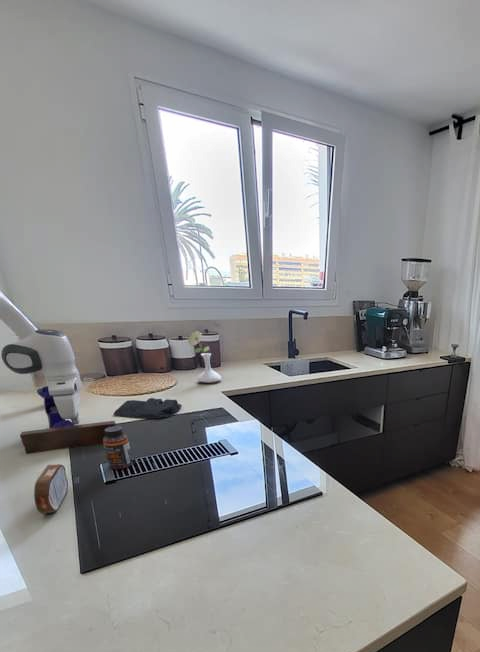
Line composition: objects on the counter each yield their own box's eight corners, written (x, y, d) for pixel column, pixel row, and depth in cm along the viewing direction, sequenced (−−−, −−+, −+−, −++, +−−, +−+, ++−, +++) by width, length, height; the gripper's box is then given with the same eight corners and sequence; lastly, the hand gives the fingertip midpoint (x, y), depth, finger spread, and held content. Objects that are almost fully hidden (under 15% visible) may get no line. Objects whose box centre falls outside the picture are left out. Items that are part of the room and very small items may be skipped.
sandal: (47, 447, 121) (32, 401, 115) (51, 427, 136) (37, 385, 130) (79, 442, 125) (66, 397, 119) (79, 423, 140) (67, 382, 134)
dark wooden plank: (26, 453, 117) (19, 435, 114) (28, 450, 119) (21, 431, 117) (118, 440, 127) (114, 423, 125) (119, 437, 130) (114, 420, 127)
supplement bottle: (105, 470, 108) (95, 433, 104) (114, 461, 114) (105, 425, 109) (129, 469, 109) (120, 432, 105) (136, 460, 115) (128, 424, 110)
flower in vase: (215, 377, 204) (209, 328, 194) (225, 382, 197) (219, 330, 187) (190, 381, 196) (182, 330, 186) (199, 386, 189) (192, 332, 178)
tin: (58, 489, 99) (48, 459, 96) (73, 486, 100) (64, 457, 97) (39, 521, 86) (27, 488, 83) (56, 518, 87) (45, 485, 84)
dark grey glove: (135, 404, 162) (133, 392, 160) (186, 407, 160) (184, 396, 158) (109, 416, 148) (106, 404, 146) (165, 419, 146) (162, 407, 144)
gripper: (56, 376, 131) (68, 415, 137) (47, 391, 115) (60, 435, 121) (79, 374, 134) (89, 412, 140) (73, 389, 118) (85, 431, 124)
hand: (76, 423), depth 130 cm, fingers closed
